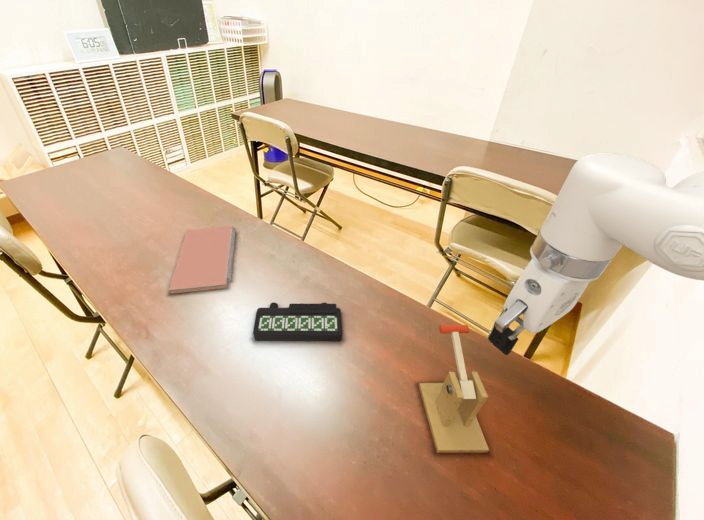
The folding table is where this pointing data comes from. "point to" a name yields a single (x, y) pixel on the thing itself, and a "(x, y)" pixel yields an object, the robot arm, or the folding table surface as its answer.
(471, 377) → the bracket
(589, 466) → the folding table surface
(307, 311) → the digital display
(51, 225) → the folding table surface
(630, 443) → the folding table surface
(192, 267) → the notebook
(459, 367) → the lever
